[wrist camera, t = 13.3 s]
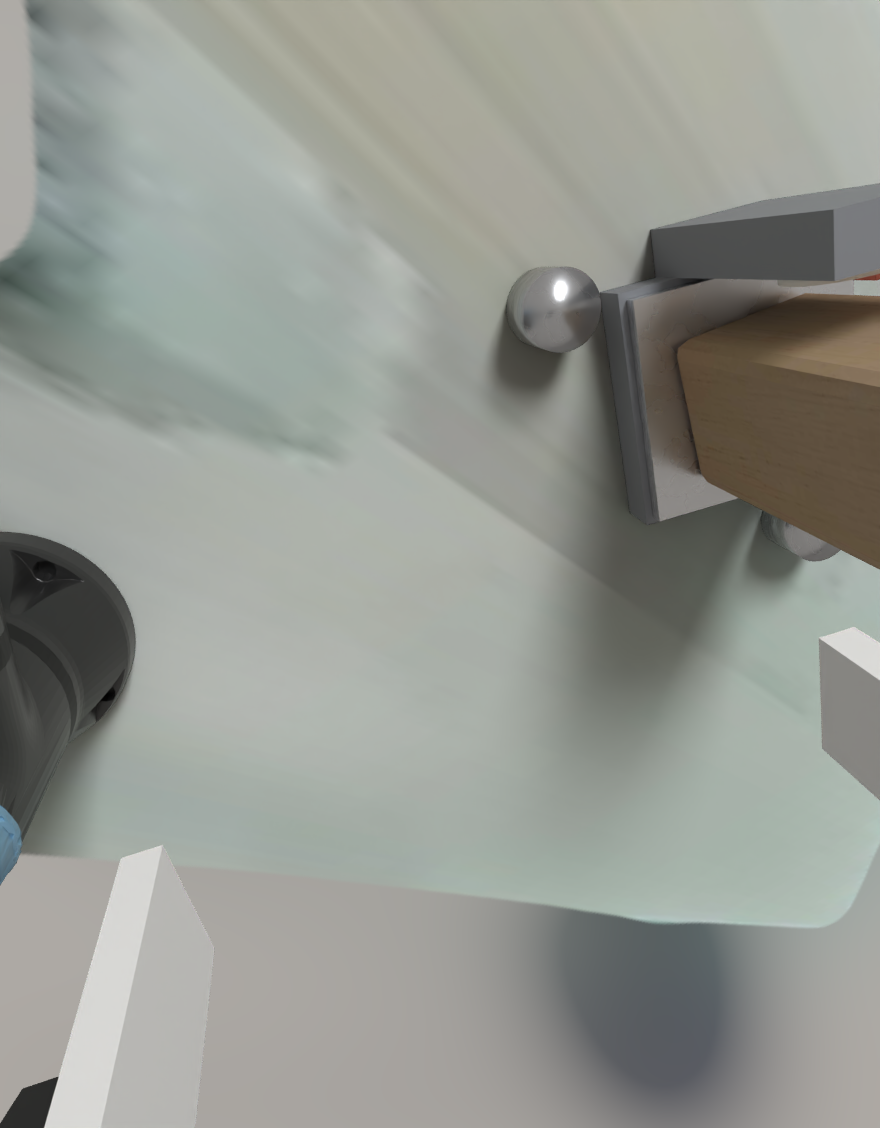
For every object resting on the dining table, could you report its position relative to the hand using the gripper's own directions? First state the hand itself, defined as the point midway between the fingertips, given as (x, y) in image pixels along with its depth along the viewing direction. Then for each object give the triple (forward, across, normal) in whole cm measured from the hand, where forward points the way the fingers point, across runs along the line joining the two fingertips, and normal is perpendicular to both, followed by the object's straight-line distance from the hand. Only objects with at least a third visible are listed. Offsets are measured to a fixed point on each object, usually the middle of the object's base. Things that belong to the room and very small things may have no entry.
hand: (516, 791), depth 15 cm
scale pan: (+38, +26, -4) cm, 47 cm away
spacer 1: (+39, +14, +4) cm, 41 cm away
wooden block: (+35, +26, -4) cm, 44 cm away
